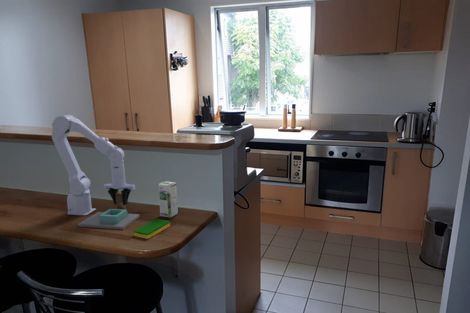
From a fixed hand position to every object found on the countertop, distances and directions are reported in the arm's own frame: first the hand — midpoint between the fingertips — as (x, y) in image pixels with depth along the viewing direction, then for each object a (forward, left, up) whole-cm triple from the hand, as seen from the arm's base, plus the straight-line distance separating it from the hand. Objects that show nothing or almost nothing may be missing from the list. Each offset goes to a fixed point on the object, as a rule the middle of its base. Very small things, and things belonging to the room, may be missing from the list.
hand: (120, 204), depth 157 cm
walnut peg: (0, 0, -3) cm, 3 cm away
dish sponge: (+24, -19, -4) cm, 31 cm away
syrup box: (+24, -2, -3) cm, 24 cm away
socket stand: (+2, -13, -3) cm, 13 cm away
